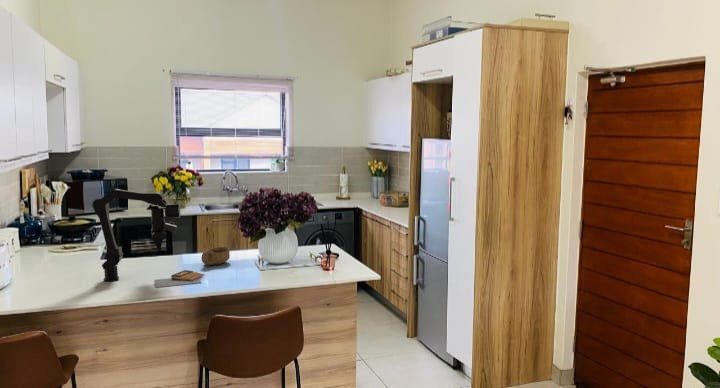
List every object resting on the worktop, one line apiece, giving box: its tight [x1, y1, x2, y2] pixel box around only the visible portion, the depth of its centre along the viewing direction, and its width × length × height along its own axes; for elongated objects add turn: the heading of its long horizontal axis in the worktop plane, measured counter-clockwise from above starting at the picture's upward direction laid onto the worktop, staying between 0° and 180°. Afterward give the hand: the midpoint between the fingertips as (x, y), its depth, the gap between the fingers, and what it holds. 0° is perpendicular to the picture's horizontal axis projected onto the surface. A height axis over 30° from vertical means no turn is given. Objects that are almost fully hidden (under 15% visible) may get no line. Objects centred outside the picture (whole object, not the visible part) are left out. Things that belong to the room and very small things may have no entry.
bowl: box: [201, 246, 231, 266], centre depth 293 cm, size 18×14×10 cm
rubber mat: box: [154, 277, 202, 289], centre depth 259 cm, size 14×20×1 cm
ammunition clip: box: [170, 269, 206, 280], centre depth 265 cm, size 11×2×12 cm
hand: (159, 250), depth 267 cm, fingers closed
